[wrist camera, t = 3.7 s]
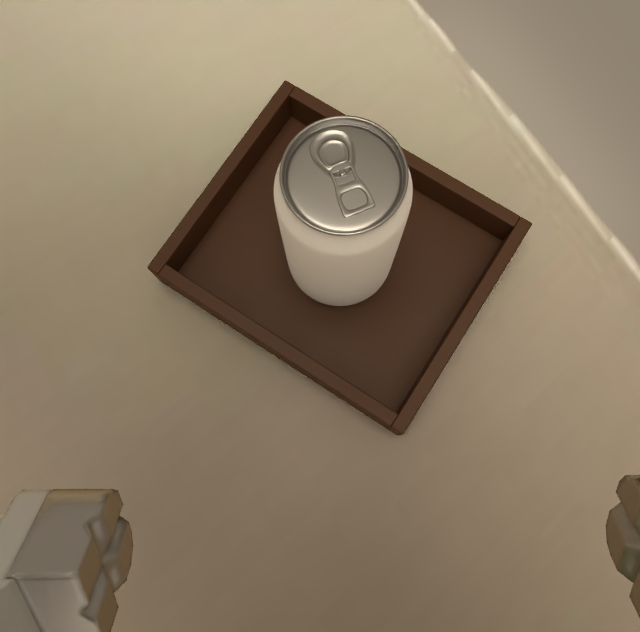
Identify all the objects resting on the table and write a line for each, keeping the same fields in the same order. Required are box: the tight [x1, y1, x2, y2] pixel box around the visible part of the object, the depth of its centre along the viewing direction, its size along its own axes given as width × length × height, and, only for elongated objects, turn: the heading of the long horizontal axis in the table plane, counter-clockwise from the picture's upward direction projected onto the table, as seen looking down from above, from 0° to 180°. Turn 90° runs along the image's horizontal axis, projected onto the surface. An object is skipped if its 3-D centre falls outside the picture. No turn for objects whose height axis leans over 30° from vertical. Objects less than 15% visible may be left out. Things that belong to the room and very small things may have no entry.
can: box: [274, 116, 413, 306], centre depth 32 cm, size 6×6×12 cm
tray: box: [148, 81, 532, 435], centre depth 37 cm, size 18×15×3 cm
